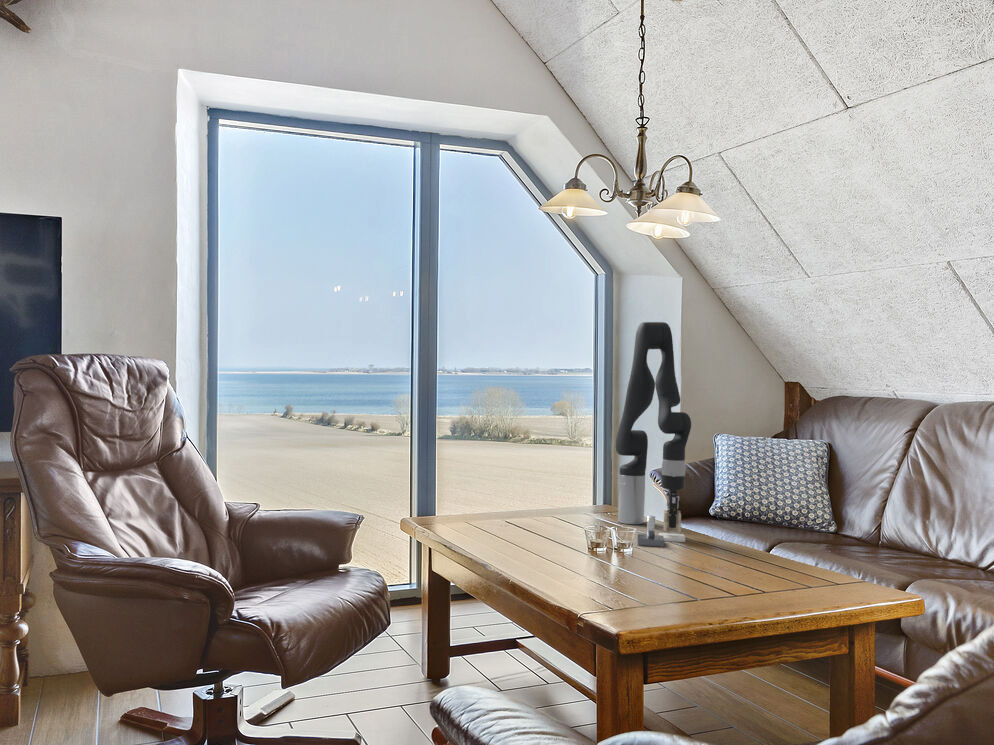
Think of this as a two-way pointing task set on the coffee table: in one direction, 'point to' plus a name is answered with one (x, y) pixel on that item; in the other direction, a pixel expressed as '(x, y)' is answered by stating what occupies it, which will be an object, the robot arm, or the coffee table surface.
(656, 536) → the pin stand
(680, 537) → the tile
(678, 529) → the beige upright block
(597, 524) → the coffee table surface
